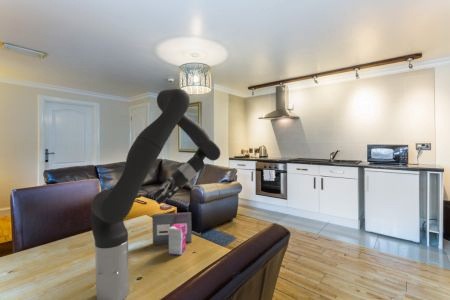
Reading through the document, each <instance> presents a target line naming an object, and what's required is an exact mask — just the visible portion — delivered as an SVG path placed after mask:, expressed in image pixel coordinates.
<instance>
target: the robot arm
mask: <svg viewBox="0 0 450 300" xmlns="http://www.w3.org/2000/svg"><path fill="white" fill-rule="evenodd" d="M156 104H157V107H158V108H159V110H160V111H161V113H160V114H159V116H158V117H157V118H156V119H155V120H154V121H153V122H151V123H150V124H148V125H147V126H146V127H145V128H144V129H143V130H142V131H141V132H140V133H139V134H138V135H137V136H136V139H135V140H134V141H133V143H132V145H131V146H130V148H129V150H128V152H127V156H126V159H125V164H124V167H123V172H122V174H121V176H120V177H119V179H118V181H117V182H116V183H115V185H114V186H113V188H112V189H104V190H101V191H100V192H98V193H97V194H96V195H95V196H94V197H93V200H92V201H91V208H90V210H91V212H90V215H91V231H92V235H93V239H94V252H95V255H94V256H95V257H94V258H95V261H94V263H95V287H96V289H95V290H96V300H125V299H126V298H127V297H128V296H129V294H130V274H129V273H130V269H129V232H128V229H127V228H126V225H125V222H124V219H125V218H127V217H128V216H129V213H130V212H131V210H132V208H133V206H134V204H135V201H136V199H137V197H138V194H139V191H140V190H141V187H142V186H143V183H144V182H145V180H146V179H147V177H148V175H149V174H150V171H151V169H152V168H153V166H154V164H155V163H156V161H157V160H158V158H159V155H160V154H161V152H162V150H163V148H164V147H165V145H166V142H167V141H168V140H169V138H170V136H171V134H172V133H173V131H174V130H175V128H176V126H178V127H179V128H180V129H182V131H183V132H184V133H185V134H186V135H187V136H188V137H189V139H190V140H191V141H192V142H193V144H194V145H195V146H196V147H197V148H198V149H197V150H196V151H195V152H194V155H193V156H192V157H190V158H189V159H188V160H187V161H186V162H184V163H183V164H182V165H181V166H179V168H177V169H176V170H175V171H174V172H172V174H171V175H170V176H171V178H167V179H166V180H165V181H164V182H163V183H162V184H160V185H159V189H158V190H156V191H155V192H154V193H153V197H154V198H155V199H156V203H157V204H158V205H161V204H162V203H163V202H164V201H165V200H167V199H168V200H171V198H173V196H174V195H175V194H176V193H177V192H178V191H180V188H183V187H184V186H186V184H188V182H190V181H191V180H192V179H193V178H194V177H195V176H196V175H197V174H198V173H199V172H200V171H201V170H202V169H203V168H204V167H205V162H204V159H208V160H210V161H217V160H218V159H220V156H221V150H220V147H219V146H218V145H217V144H216V143H215V142H214V141H213V140H212V139H211V138H210V136H209V134H208V133H207V132H206V130H205V129H204V128H203V127H202V125H200V124H199V123H198V122H196V121H195V119H194V120H193V119H192V118H191V117H190V116H188V115H187V114H186V113H187V110H188V109H189V106H190V96H189V93H188V92H187V91H186V90H184V89H181V88H172V89H171V88H170V89H165V90H164V89H163V90H161V91H160V92H158V95H157V96H156Z"/></svg>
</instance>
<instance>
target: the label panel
mask: <svg viewBox="0 0 450 300" xmlns="http://www.w3.org/2000/svg"><path fill="white" fill-rule="evenodd" d="M151 216H152V219H151V220H152V246H153V245H154V246H156V245H169V228H170V227H171V226H173V225H174V224H179V225H186V244H187V243H192V237H193V236H192V212H190V211H188V212H175V213H174V212H173V213H172V212H171V213H153V214H152V215H151Z"/></svg>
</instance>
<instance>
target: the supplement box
mask: <svg viewBox="0 0 450 300" xmlns="http://www.w3.org/2000/svg"><path fill="white" fill-rule="evenodd" d="M186 244H187V243H186V225H179V224H174V225H173V226H171V227H170V228H169V244H168V255H170V256H179V257H180V256H182V255H183V253H184V252H185V251H186Z"/></svg>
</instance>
